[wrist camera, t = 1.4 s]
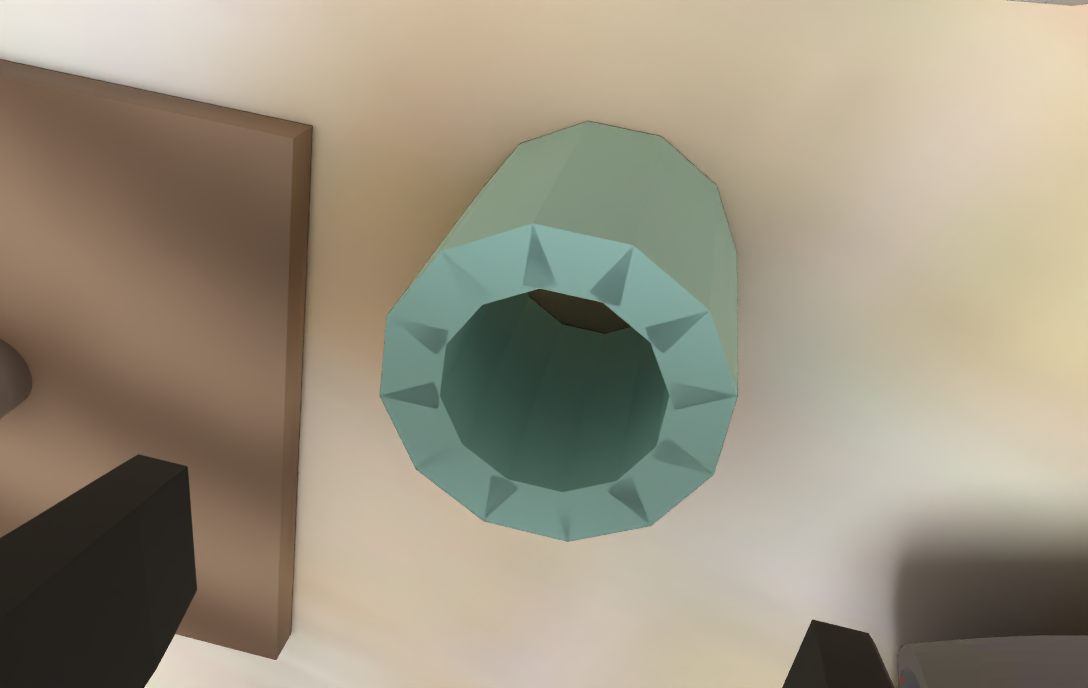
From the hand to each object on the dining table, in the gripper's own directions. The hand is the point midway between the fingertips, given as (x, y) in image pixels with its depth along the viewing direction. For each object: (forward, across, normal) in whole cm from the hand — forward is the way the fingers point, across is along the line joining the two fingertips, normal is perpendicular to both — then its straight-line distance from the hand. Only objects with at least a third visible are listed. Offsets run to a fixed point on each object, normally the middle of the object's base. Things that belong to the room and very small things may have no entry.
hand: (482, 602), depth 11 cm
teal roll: (+11, 0, +1) cm, 11 cm away
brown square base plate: (+10, +14, +7) cm, 19 cm away
